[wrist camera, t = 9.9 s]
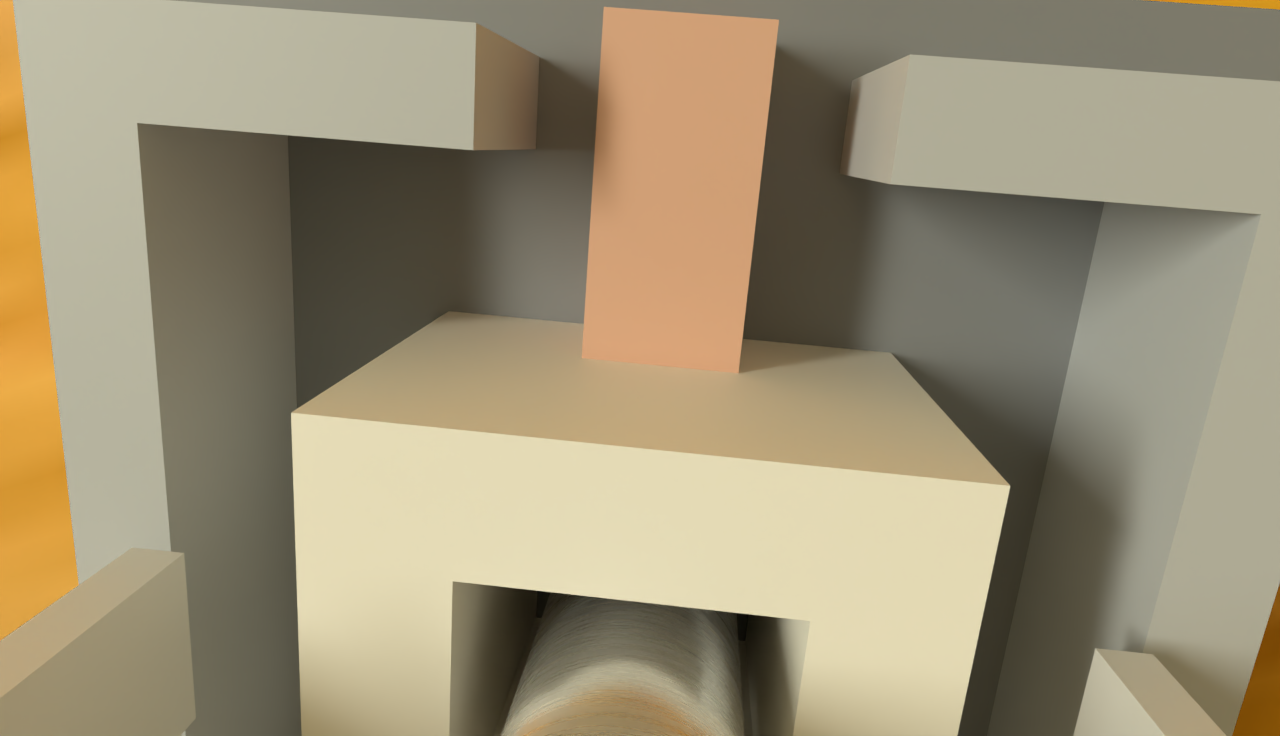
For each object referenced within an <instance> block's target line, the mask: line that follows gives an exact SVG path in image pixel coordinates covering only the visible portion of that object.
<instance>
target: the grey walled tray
mask: <svg viewBox="0 0 1280 736" xmlns="http://www.w3.org/2000/svg"><path fill="white" fill-rule="evenodd" d="M13 5H14V14H15V23H16V32H17V41H18V50H19V59H20V67H21V76H22V85H23V94H24V103H25V112H26V121H27V129H28V138H29V147H30V156H31V165H32V174H33V183H34V191H35V200H36V209H37V218H38V227H39V236H40V245H41V253H42V262H43V271H44V280H45V289H46V298H47V307H48V315H49V324H50V333H51V342H52V351H53V360H54V369H55V378H56V386H57V395H58V404H59V413H60V422H61V431H62V440H63V448H64V457H65V466H66V475H67V484H68V493H69V502H70V510H71V519H72V528H73V537H74V546H75V555H76V564H77V572H78V581H79V585H80V584H81V583H83V582H84V581H85V580H87V579H88V578H90V577H91V576H92V575H94V574H95V573H97V572H98V571H99V570H101V569H102V568H104V567H105V566H107V565H108V564H109V563H111V562H112V561H114V560H115V559H116V558H118V557H119V556H121V555H122V554H124V553H125V552H126V551H128V550H129V549H131V548H142V549H151V550H161V551H171V552H180V553H184V559H185V572H186V586H187V600H188V614H189V628H190V642H191V656H192V670H193V683H194V697H195V711H196V719H195V720H194V721H193V722H192V723H191V724H190V725H189V727H188V728H187V729H186V730H185V731H184V732H183V733H182V734H181V736H302V731H301V701H300V671H299V641H298V610H297V580H296V550H295V520H294V490H293V459H292V429H291V412H293V411H294V410H296V409H297V408H299V407H301V406H302V405H304V404H305V403H307V402H308V401H310V400H311V399H313V398H315V397H316V396H318V395H319V394H321V393H322V392H324V391H325V390H327V389H329V388H330V387H332V386H333V385H335V384H336V383H338V382H339V381H341V380H343V379H344V378H346V377H347V376H349V375H350V374H352V373H353V372H355V371H357V370H358V369H360V368H361V367H363V366H364V365H366V364H367V363H369V362H371V361H372V360H374V359H375V358H377V357H378V356H380V355H381V354H383V353H384V352H386V351H388V350H389V349H391V348H392V347H394V346H395V345H397V344H398V343H400V342H402V341H403V340H405V339H406V338H408V337H409V336H411V335H412V334H414V333H416V332H417V331H419V330H420V329H422V328H423V327H425V326H426V325H428V324H430V323H431V322H433V321H434V320H436V319H437V318H439V317H440V316H442V315H444V314H445V313H447V312H448V311H452V312H463V313H473V314H484V315H495V316H505V317H516V318H526V319H537V320H548V321H558V322H569V323H579V324H584V313H585V297H586V281H587V265H588V249H589V234H590V218H591V202H592V186H593V170H594V154H595V138H596V122H597V106H598V91H599V75H600V59H601V43H602V27H603V11H604V7H614V8H627V9H641V10H654V11H668V12H682V13H695V14H709V15H722V16H736V17H749V18H763V19H776V20H779V25H778V33H777V42H776V51H775V59H774V68H773V77H772V86H771V94H770V103H769V112H768V120H767V129H766V138H765V146H764V155H763V164H762V173H761V181H760V190H759V199H758V207H757V216H756V225H755V234H754V242H753V251H752V260H751V268H750V277H749V286H748V294H747V303H746V312H745V320H744V329H743V338H742V339H749V340H760V341H770V342H781V343H792V344H802V345H813V346H823V347H834V348H845V349H855V350H866V351H877V352H887V353H891V354H892V355H893V356H894V357H895V358H896V359H897V360H898V361H899V362H900V364H901V365H902V366H903V367H904V368H905V369H906V370H907V371H908V372H909V374H910V375H911V376H912V377H913V378H914V379H915V380H916V381H917V383H918V384H919V385H920V386H921V387H922V388H923V389H924V390H925V391H926V393H927V394H928V395H929V396H930V397H931V398H932V399H933V400H934V401H935V403H936V404H937V405H938V406H939V407H940V408H941V409H942V410H943V411H944V413H945V414H946V415H947V416H948V417H949V418H950V419H951V420H952V421H953V423H954V424H955V425H956V426H957V427H958V428H959V429H960V430H961V431H962V433H963V434H964V435H965V436H966V437H967V438H968V439H969V440H970V441H971V443H972V444H973V445H974V446H975V447H976V448H977V449H978V450H979V452H980V453H981V454H982V455H983V456H984V457H985V458H986V459H987V460H988V462H989V463H990V464H991V465H992V466H993V467H994V468H995V469H996V470H997V472H998V473H999V474H1000V475H1001V476H1002V477H1003V478H1004V479H1005V480H1006V482H1007V483H1008V484H1009V485H1010V490H1009V495H1008V500H1007V504H1006V509H1005V514H1004V518H1003V523H1002V528H1001V533H1000V537H999V542H998V547H997V551H996V556H995V561H994V566H993V570H992V575H991V580H990V584H989V589H988V594H987V598H986V603H985V608H984V613H983V617H982V622H981V627H980V631H979V636H978V641H977V645H976V650H975V655H974V660H973V664H972V669H971V674H970V678H969V683H968V688H967V693H966V697H965V702H964V707H963V711H962V716H961V721H960V725H959V730H958V735H957V736H1073V735H1074V731H1075V727H1076V723H1077V719H1078V715H1079V711H1080V707H1081V703H1082V699H1083V695H1084V691H1085V687H1086V683H1087V679H1088V675H1089V671H1090V668H1091V664H1092V660H1093V656H1094V652H1095V648H1098V649H1108V650H1118V651H1127V652H1137V653H1146V654H1153V655H1154V656H1155V657H1156V658H1157V659H1158V660H1159V661H1160V663H1161V664H1162V665H1163V666H1164V667H1165V668H1166V669H1167V670H1168V671H1169V673H1170V674H1171V675H1172V676H1173V677H1174V678H1175V679H1176V680H1177V681H1178V683H1179V684H1180V685H1181V686H1182V687H1183V688H1184V689H1185V690H1186V691H1187V692H1188V694H1189V695H1190V696H1191V697H1192V698H1193V699H1194V700H1195V701H1196V702H1197V704H1198V705H1199V706H1200V707H1201V708H1202V709H1203V710H1204V711H1205V712H1206V714H1207V715H1208V716H1209V717H1210V718H1211V719H1212V720H1213V721H1214V722H1215V724H1216V725H1217V726H1218V727H1219V728H1220V729H1221V730H1222V731H1223V732H1224V733H1225V735H1226V736H1232V734H1233V731H1234V728H1235V725H1236V722H1237V718H1238V715H1239V712H1240V709H1241V706H1242V702H1243V699H1244V696H1245V693H1246V690H1247V686H1248V683H1249V680H1250V677H1251V674H1252V670H1253V667H1254V664H1255V661H1256V658H1257V654H1258V651H1259V648H1260V645H1261V642H1262V638H1263V635H1264V632H1265V629H1266V626H1267V622H1268V619H1269V616H1270V613H1271V610H1272V606H1273V603H1274V600H1275V597H1276V594H1277V590H1278V587H1279V584H1280V10H1276V9H1261V8H1247V7H1232V6H1218V5H1203V4H1188V3H1174V2H1159V1H1145V0H13ZM549 595H550V592H545V591H537V607H536V617H537V618H542V615H543V612H544V609H545V607H546V604H547V601H548V598H549ZM736 614H737V628H738V640H740V641H745V639H746V631H747V623H748V616H749V614H742V613H736Z"/></svg>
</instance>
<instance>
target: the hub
mask: <svg viewBox="0 0 1280 736" xmlns="http://www.w3.org/2000/svg"><path fill="white" fill-rule="evenodd" d="M778 25H779V20H776V19H763V18H749V17H736V16H722V15H709V14H695V13H682V12H668V11H654V10H641V9H627V8H614V7H604V11H603V27H602V43H601V59H600V75H599V91H598V106H597V122H596V138H595V154H594V170H593V186H592V202H591V218H590V234H589V249H588V265H587V281H586V297H585V313H584V324H579V323H569V322H558V321H548V320H537V319H526V318H516V317H505V316H495V315H484V314H473V313H463V312H452V311H448V312H447V313H445V314H444V315H442V316H440V317H439V318H437V319H436V320H434V321H433V322H431V323H430V324H428V325H426V326H425V327H423V328H422V329H420V330H419V331H417V332H416V333H414V334H412V335H411V336H409V337H408V338H406V339H405V340H403V341H402V342H400V343H398V344H397V345H395V346H394V347H392V348H391V349H389V350H388V351H386V352H384V353H383V354H381V355H380V356H378V357H377V358H375V359H374V360H372V361H371V362H369V363H367V364H366V365H364V366H363V367H361V368H360V369H358V370H357V371H355V372H353V373H352V374H350V375H349V376H347V377H346V378H344V379H343V380H341V381H339V382H338V383H336V384H335V385H333V386H332V387H330V388H329V389H327V390H325V391H324V392H322V393H321V394H319V395H318V396H316V397H315V398H313V399H311V400H310V401H308V402H307V403H305V404H304V405H302V406H301V407H299V408H297V409H296V410H294V411H293V412H291V429H292V459H293V490H294V520H295V550H296V580H297V610H298V641H299V671H300V701H301V731H302V736H501V733H502V731H503V728H504V725H505V722H506V719H507V716H508V713H509V710H510V707H511V705H512V702H513V699H514V696H515V693H516V690H517V687H518V684H519V682H520V679H521V676H522V673H523V670H524V667H525V664H526V661H527V658H528V656H529V653H530V650H531V647H532V644H533V641H534V638H535V635H536V633H537V630H538V627H539V624H540V621H541V618H537V617H536V607H537V591H545V592H554V593H563V594H571V595H580V596H589V597H598V598H607V599H616V600H625V601H634V602H643V603H652V604H661V605H670V606H679V607H688V608H697V609H706V610H715V611H724V612H733V613H742V614H749V616H748V623H747V631H746V639H745V641H740V640H738V643H739V658H740V673H741V688H742V703H743V718H744V733H745V736H957V735H958V730H959V725H960V721H961V716H962V711H963V707H964V702H965V697H966V693H967V688H968V683H969V678H970V674H971V669H972V664H973V660H974V655H975V650H976V645H977V641H978V636H979V631H980V627H981V622H982V617H983V613H984V608H985V603H986V598H987V594H988V589H989V584H990V580H991V575H992V570H993V566H994V561H995V556H996V551H997V547H998V542H999V537H1000V533H1001V528H1002V523H1003V518H1004V514H1005V509H1006V504H1007V500H1008V495H1009V490H1010V485H1009V484H1008V483H1007V482H1006V480H1005V479H1004V478H1003V477H1002V476H1001V475H1000V474H999V473H998V472H997V470H996V469H995V468H994V467H993V466H992V465H991V464H990V463H989V462H988V460H987V459H986V458H985V457H984V456H983V455H982V454H981V453H980V452H979V450H978V449H977V448H976V447H975V446H974V445H973V444H972V443H971V441H970V440H969V439H968V438H967V437H966V436H965V435H964V434H963V433H962V431H961V430H960V429H959V428H958V427H957V426H956V425H955V424H954V423H953V421H952V420H951V419H950V418H949V417H948V416H947V415H946V414H945V413H944V411H943V410H942V409H941V408H940V407H939V406H938V405H937V404H936V403H935V401H934V400H933V399H932V398H931V397H930V396H929V395H928V394H927V393H926V391H925V390H924V389H923V388H922V387H921V386H920V385H919V384H918V383H917V381H916V380H915V379H914V378H913V377H912V376H911V375H910V374H909V372H908V371H907V370H906V369H905V368H904V367H903V366H902V365H901V364H900V362H899V361H898V360H897V359H896V358H895V357H894V356H893V355H892V354H891V353H887V352H877V351H866V350H855V349H845V348H834V347H823V346H813V345H802V344H792V343H781V342H770V341H760V340H749V339H742V338H743V329H744V320H745V312H746V303H747V294H748V286H749V277H750V268H751V260H752V251H753V242H754V234H755V225H756V216H757V207H758V199H759V190H760V181H761V173H762V164H763V155H764V146H765V138H766V129H767V120H768V112H769V103H770V94H771V86H772V77H773V68H774V59H775V51H776V42H777V33H778Z"/></svg>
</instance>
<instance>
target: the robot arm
mask: <svg viewBox="0 0 1280 736" xmlns="http://www.w3.org/2000/svg"><path fill="white" fill-rule="evenodd" d="M195 719H196V711H195V697H194V683H193V670H192V656H191V642H190V628H189V614H188V600H187V586H186V572H185V559H184V553H180V552H171V551H161V550H151V549H142V548H131V549H129V550H128V551H126V552H125V553H124V554H122V555H121V556H119V557H118V558H116V559H115V560H114V561H112V562H111V563H109V564H108V565H107V566H105V567H104V568H102V569H101V570H99V571H98V572H97V573H95V574H94V575H92V576H91V577H90V578H88V579H87V580H85V581H84V582H83V583H81V584H80V585H78V586H77V587H75V588H74V589H73V590H71V591H70V592H68V593H67V594H66V595H64V596H63V597H61V598H60V599H59V600H57V601H56V602H54V603H53V604H51V605H50V606H49V607H47V608H46V609H44V610H43V611H42V612H40V613H39V614H37V615H36V616H34V617H33V618H32V619H30V620H29V621H27V622H26V623H25V624H23V625H22V626H20V627H19V628H18V629H16V630H15V631H13V632H12V633H10V634H9V635H8V636H6V637H5V638H3V639H2V640H1V641H0V736H181V734H182V733H183V732H184V731H185V730H186V729H187V728H188V727H189V725H190V724H191V723H192V722H193V721H194V720H195ZM1073 736H1226V735H1225V733H1224V732H1223V731H1222V730H1221V729H1220V728H1219V727H1218V726H1217V725H1216V724H1215V722H1214V721H1213V720H1212V719H1211V718H1210V717H1209V716H1208V715H1207V714H1206V712H1205V711H1204V710H1203V709H1202V708H1201V707H1200V706H1199V705H1198V704H1197V702H1196V701H1195V700H1194V699H1193V698H1192V697H1191V696H1190V695H1189V694H1188V692H1187V691H1186V690H1185V689H1184V688H1183V687H1182V686H1181V685H1180V684H1179V683H1178V681H1177V680H1176V679H1175V678H1174V677H1173V676H1172V675H1171V674H1170V673H1169V671H1168V670H1167V669H1166V668H1165V667H1164V666H1163V665H1162V664H1161V663H1160V661H1159V660H1158V659H1157V658H1156V657H1155V656H1154V655H1153V654H1146V653H1137V652H1127V651H1118V650H1108V649H1098V648H1095V652H1094V656H1093V660H1092V664H1091V668H1090V671H1089V675H1088V679H1087V683H1086V687H1085V691H1084V695H1083V699H1082V703H1081V707H1080V711H1079V715H1078V719H1077V723H1076V727H1075V731H1074V735H1073Z"/></svg>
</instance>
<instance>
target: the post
mask: <svg viewBox="0 0 1280 736" xmlns="http://www.w3.org/2000/svg"><path fill="white" fill-rule="evenodd" d="M501 736H745V733H744V718H743V703H742V688H741V673H740V658H739V643H738V628H737V614H736V613H733V612H724V611H715V610H706V609H697V608H688V607H679V606H670V605H661V604H652V603H643V602H634V601H625V600H616V599H607V598H598V597H589V596H580V595H571V594H563V593H554V592H550V595H549V598H548V601H547V604H546V607H545V609H544V612H543V615H542V618H541V621H540V624H539V627H538V630H537V633H536V635H535V638H534V641H533V644H532V647H531V650H530V653H529V656H528V658H527V661H526V664H525V667H524V670H523V673H522V676H521V679H520V682H519V684H518V687H517V690H516V693H515V696H514V699H513V702H512V705H511V707H510V710H509V713H508V716H507V719H506V722H505V725H504V728H503V731H502V733H501Z"/></svg>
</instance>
